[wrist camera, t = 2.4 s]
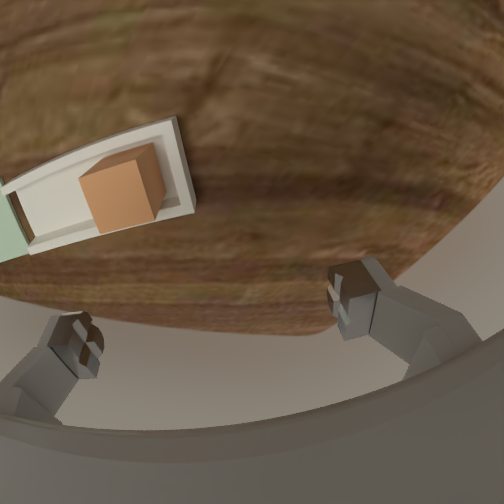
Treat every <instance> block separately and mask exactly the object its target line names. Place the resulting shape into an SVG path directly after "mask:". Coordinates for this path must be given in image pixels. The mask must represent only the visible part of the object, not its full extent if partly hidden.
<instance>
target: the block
mask: <svg viewBox="0 0 504 504" xmlns="http://www.w3.org/2000/svg"><path fill="white" fill-rule="evenodd" d="M78 180H79V182H80V185H81V188H82V191H83V193H84V196H85V199H86V201H87V204H88V206H89V209H90V211H91V214H92V216H93V219H94V221H95V224H96V226H97V228H98V231H99V233H100V234H103V233H107V232H111V231H115V230H119V229H123V228H127V227H131V226H135V225H139V224H143V223H147V222H151V221H155V220H156V217H157V214H158V212H159V209H160V207H161V204H162V202H163V199H164V197H165V194H166V189H165V185H164V182H163V178H162V175H161V171H160V167H159V164H158V160H157V157H156V153H155V149H154V145H153V142H151V143H148V144H144V145H141V146H138V147H134V148H131V149H128V150H125V151H122V152H118V153H115V154H112V155H109V156H106V157H104V158H103V159H101V160H100V161H99V162H98V163H96V164H95V165H94V166H93V167H91V168H90V169H89V170H88V171H86V172H85V173H84V174H83V175H82V176H80V177H79V178H78Z"/></svg>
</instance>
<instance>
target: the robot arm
mask: <svg viewBox="0 0 504 504" xmlns="http://www.w3.org/2000/svg"><path fill="white" fill-rule="evenodd" d="M327 277H328V279H329V281H330V285H329V286H328V287H327V297H328V304H329V307H330V310H331V312H332V315H333V316H335V317H336V318H338V325H337V326H338V328H339V330H340V332H341V334H342V336H343V339H344V340H345V341H346V340H350V339H354V338H358V337H361V336H365V335H369V336H370V337H372V338H373V339H375V340H376V341H377V342H379V343H380V344H382V345H383V346H384V347H386V348H387V349H389V350H390V351H391V352H393V353H394V354H396V355H397V356H399V357H400V358H401V359H403V360H404V361H406V362H407V363H408V364H410V365H409V367H408V370H407V372H406V374H405V376H404V378H403V380H402V381H400V382H397V383H395V384H392V385H390V386H387V387H384V388H382V389H379V390H376V391H373V392H370V393H368V394H364V395H361V396H358V397H355V398H352V399H349V400H345V401H342V402H339V403H335V404H332V405H328V406H325V407H320V408H317V409H313V410H309V411H305V412H300V413H296V414H291V415H287V416H282V417H277V418H272V419H266V420H260V421H254V422H248V423H241V424H234V425H226V426H217V427H208V428H195V429H180V430H150V431H149V430H146V431H143V430H140V431H139V430H109V429H94V428H84V427H74V426H66V425H63V424H62V422H61V421H59V420H58V419H56V418H55V417H54V416H55V414H56V413H57V411H58V409H59V408H60V406H61V405H62V403H63V402H64V401H65V399H66V398H67V396H68V395H69V393H70V392H71V390H72V389H73V387H74V386H75V384H76V383H77V382H78V379H90V378H97V373H98V370H99V365H100V362H99V360H98V358H99V357H100V356H101V354H102V353H103V350H104V339H103V336H102V333H101V331H100V330H99V328H98V327H96V326H94V325H93V324H92V318H91V317H90V315H89V314H88V312H85V311H80V312H71V313H63V314H55V315H53V316H51V317H50V319H49V321H48V324H47V326H46V328H45V330H44V332H43V334H42V336H41V339H40V341H39V343H38V346H37V347H34V348H33V349H32V350H31V351H30V352H29V353H28V354H27V355H26V356H25V357H24V358H23V359H22V360H21V361H20V362H19V363H18V364H17V365H16V366H15V367H14V368H13V369H12V370H11V371H10V372H9V373H8V374H7V375H6V377H5V378H4V379H3V380H2V381H1V382H0V504H504V329H503V330H501V331H499V332H498V333H496V334H494V335H493V336H491V337H489V338H488V339H486V340H484V341H482V340H481V338H480V337H479V336H478V334H477V333H476V332H475V330H474V329H473V328H472V326H471V325H470V323H469V322H468V321H467V319H466V318H465V317H464V316H463V314H462V313H460V312H458V311H455V310H453V309H451V308H449V307H447V306H445V305H443V304H441V303H438V302H436V301H434V300H432V299H429V298H428V297H425V296H423V295H421V294H419V293H417V292H414V291H412V290H410V289H408V288H405V287H403V286H398V287H397V286H396V284H395V283H394V282H393V280H392V279H391V278H390V276H389V275H388V274H387V273H386V271H385V270H384V269H383V267H382V266H381V265H380V264H379V262H378V261H377V260H376V259H375V257H373V256H370V257H366V258H362V259H358V260H356V261H351V262H347V263H343V264H338V265H334V266H329V267H328V275H327Z"/></svg>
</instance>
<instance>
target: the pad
mask: <svg viewBox="0 0 504 504" xmlns="http://www.w3.org/2000/svg"><path fill="white" fill-rule="evenodd" d="M4 185H5V184H4V181H3V178H1V179H0V188H1V187H2V186H4ZM29 244H30V241H29V239H28V237H27V235H26V233H25V231H24V229H23V227H22V225H21V223H20V220H19V218H18V216H17V214H16V211H15V209H14V207H13V204H12V202H11V199H10V197H9V194H7V195H5V196H3V195H2V192H1V190H0V262H3V261H6V260H9V259H12V258H15V257H18V256H22V255H25V254H28V253H29V252H28V250H27V247H28V245H29Z"/></svg>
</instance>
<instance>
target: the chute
mask: <svg viewBox="0 0 504 504" xmlns="http://www.w3.org/2000/svg"><path fill="white" fill-rule="evenodd" d="M151 142H153V145H154V149H155V153H156V157H157V160H158V164H159V167H160V171H161V175H162V178H163V182H164V185H165V189H166V194H165V197H164V199H163V202H162V204H161V207H160V209H159V212H158V214H157V217H156V220H155V221H151V222H147V223H143V224H148V223H152V222H156V221H160V220H165V219H169V218H173V217H178V216H182V215H187V214H192V213H195V207H196V196H195V192H194V188H193V184H192V180H191V176H190V172H189V168H188V164H187V160H186V156H185V152H184V147H183V143H182V139H181V135H180V130H179V126H178V122H177V117H176V116H174V117H170V118H166V119H162V120H159V121H155V122H152V123H148V124H145V125H141V126H138V127H135V128H132V129H129V130H126V131H123V132H120V133H117V134H114V135H111V136H108V137H105V138H103V139H100V140H97V141H94V142H92V143H89V144H87V145H84V146H82V147H79V148H77V149H74V150H72V151H70V152H67V153H65V154H63V155H60V156H58V157H56V158H54V159H51V160H49V161H47V162H45V163H43V164H41V165H39V166H37V167H35V168H33V169H31V170H29V171H27V172H25V173H23V174H21V175H19V176H17V177H15V178H14V179H12V180H11V181H9V182H8V183H6V184H5V185H4V186H2V187H1V188H0V190H1V192H2V195H3V196H5V195H7V194H9V193H11V192H13V191H15V190H16V193H17V195H18V198H19V200H20V203H21V205H22V208H23V210H24V212H25V215H26V217H27V219H28V221H29V223H30V226H31V228H32V230H33V232H34V234H35V236H36V237H35V238H34V239H33V241H32V242H31V243H30V244H29V245H28V247H27V250H28V252H29V254H30V255H33V254H36V253H39V252H43V251H46V250H49V249H53V248H56V247H60V246H63V245H67V244H70V243H74V242H77V241H81V240H85V239H88V238H92V237H96V236H100V235H103V234H107V233H111V232H115V231H119V230H123V229H127V228H131V227H135V226H139V225H143V224H139V225H135V226H131V227H127V228H123V229H119V230H115V231H111V232H107V233H103V234H100V233H99V231H98V228H97V226H96V224H95V221H94V219H93V216H92V214H91V211H90V209H89V206H88V204H87V201H86V199H85V196H84V193H83V191H82V188H81V185H80V182H79V180H78V178H79V177H80V176H82V175H83V174H84V173H85V172H86V171H88V170H89V169H90V168H91V167H93V166H94V165H95V164H96V163H98V162H99V161H100V160H101V159H103V158H104V157H106V156H109V155H112V154H115V153H118V152H122V151H125V150H128V149H131V148H134V147H138V146H141V145H144V144H148V143H151Z"/></svg>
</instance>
